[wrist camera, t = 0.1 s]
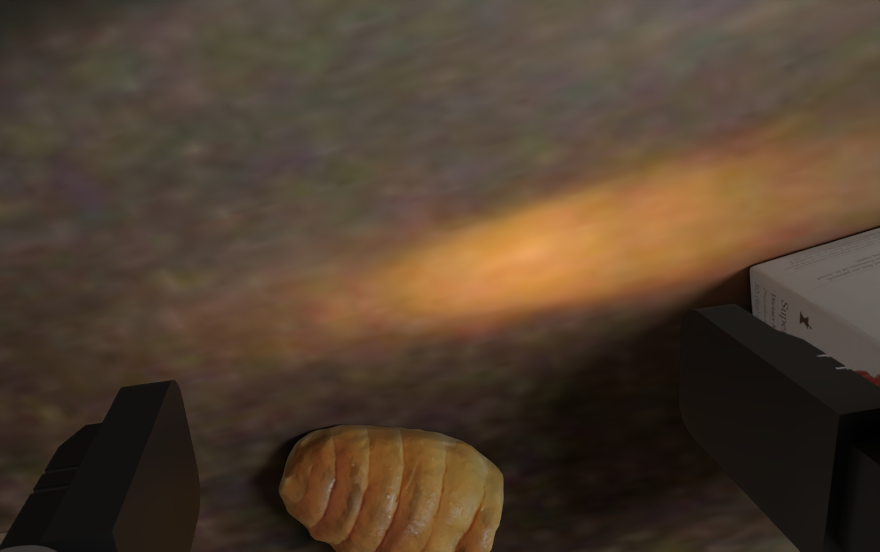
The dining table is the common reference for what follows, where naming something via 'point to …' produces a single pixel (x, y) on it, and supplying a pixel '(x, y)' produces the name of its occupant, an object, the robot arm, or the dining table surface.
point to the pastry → (392, 490)
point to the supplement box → (827, 299)
